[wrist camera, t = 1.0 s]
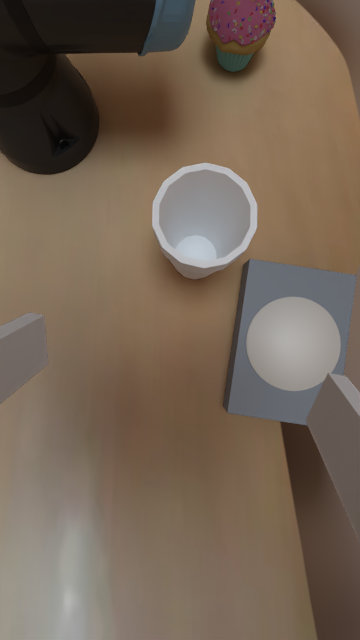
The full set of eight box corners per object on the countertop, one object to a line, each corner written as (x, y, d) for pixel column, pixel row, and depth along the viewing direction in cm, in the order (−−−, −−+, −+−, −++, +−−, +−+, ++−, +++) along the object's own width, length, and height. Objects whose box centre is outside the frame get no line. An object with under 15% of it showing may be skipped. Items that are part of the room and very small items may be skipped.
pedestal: (243, 264, 34) (250, 258, 31) (340, 279, 34) (358, 274, 31) (223, 405, 34) (228, 413, 30) (322, 420, 34) (337, 430, 30)
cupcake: (272, 50, 35) (321, -92, 23) (240, 96, 35) (272, -23, 23) (224, 18, 36) (247, -140, 24) (191, 64, 35) (198, -72, 23)
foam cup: (188, 303, 34) (194, 288, 21) (148, 251, 34) (130, 206, 21) (241, 262, 34) (279, 224, 21) (201, 211, 35) (215, 142, 22)
